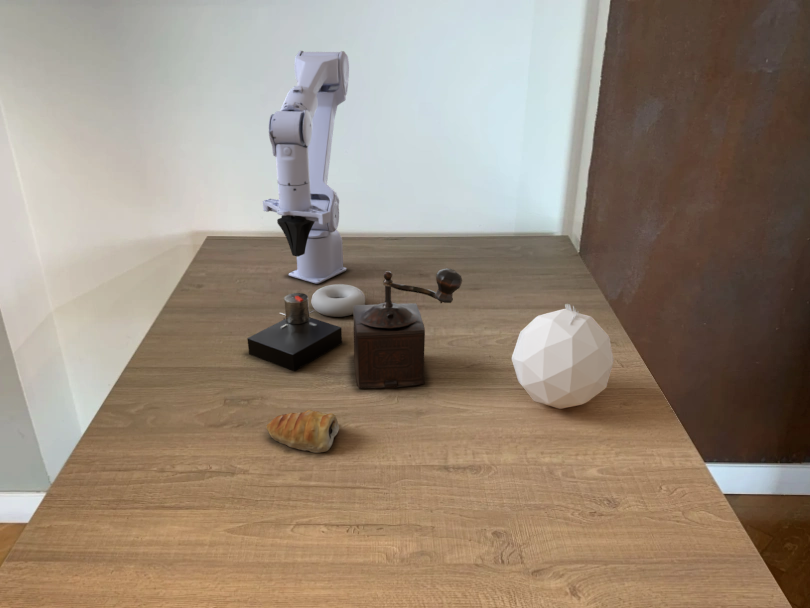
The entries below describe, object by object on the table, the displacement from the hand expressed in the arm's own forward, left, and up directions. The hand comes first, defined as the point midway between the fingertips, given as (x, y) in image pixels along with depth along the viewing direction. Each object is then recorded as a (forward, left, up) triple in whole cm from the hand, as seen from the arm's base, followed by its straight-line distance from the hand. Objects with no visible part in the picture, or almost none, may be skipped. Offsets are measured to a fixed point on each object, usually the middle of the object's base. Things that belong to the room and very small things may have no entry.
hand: (298, 254), depth 138 cm
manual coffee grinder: (+13, +33, -9) cm, 36 cm away
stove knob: (+13, +11, -5) cm, 18 cm away
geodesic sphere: (+7, +56, -9) cm, 57 cm away
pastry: (+36, +33, -9) cm, 50 cm away
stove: (+16, +13, -8) cm, 22 cm away
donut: (0, +10, -9) cm, 13 cm away
